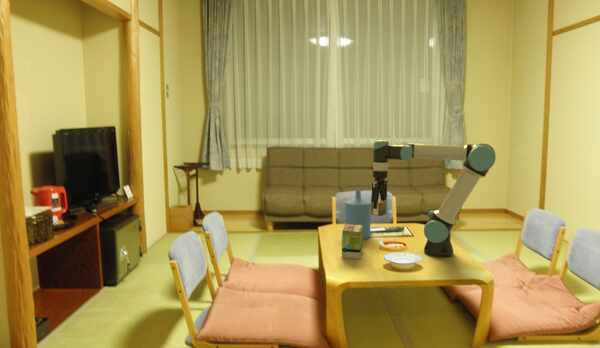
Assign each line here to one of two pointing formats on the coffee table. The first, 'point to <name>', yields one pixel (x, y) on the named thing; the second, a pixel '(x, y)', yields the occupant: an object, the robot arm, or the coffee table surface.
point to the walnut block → (380, 207)
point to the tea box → (352, 241)
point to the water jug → (359, 213)
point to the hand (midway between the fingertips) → (378, 213)
